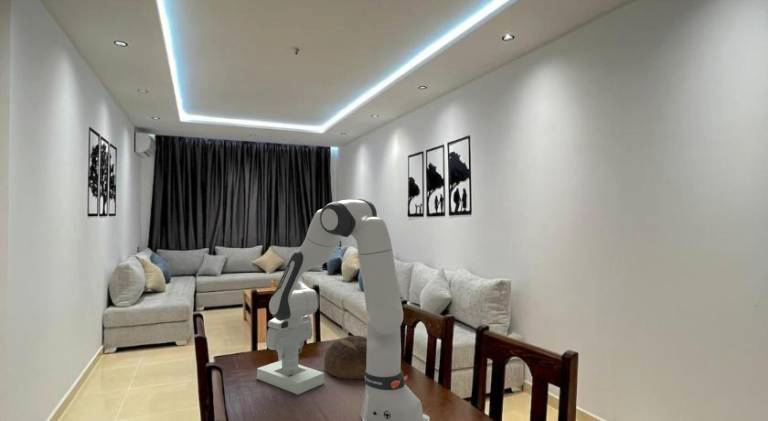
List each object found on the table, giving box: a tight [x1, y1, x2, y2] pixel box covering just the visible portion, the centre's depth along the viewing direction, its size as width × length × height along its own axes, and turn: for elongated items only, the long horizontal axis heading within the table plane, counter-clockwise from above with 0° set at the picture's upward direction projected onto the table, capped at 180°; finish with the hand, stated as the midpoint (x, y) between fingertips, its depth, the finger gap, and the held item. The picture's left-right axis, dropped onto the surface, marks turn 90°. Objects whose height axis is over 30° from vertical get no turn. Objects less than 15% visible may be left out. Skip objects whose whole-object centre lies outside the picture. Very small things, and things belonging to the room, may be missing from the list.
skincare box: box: [282, 336, 299, 370], centre depth 167 cm, size 6×4×12 cm
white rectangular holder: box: [256, 360, 325, 395], centre depth 167 cm, size 23×13×4 cm, turn 53°
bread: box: [323, 335, 367, 380], centre depth 181 cm, size 26×27×13 cm
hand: (290, 355), depth 167 cm, fingers closed on skincare box, 7 cm apart
